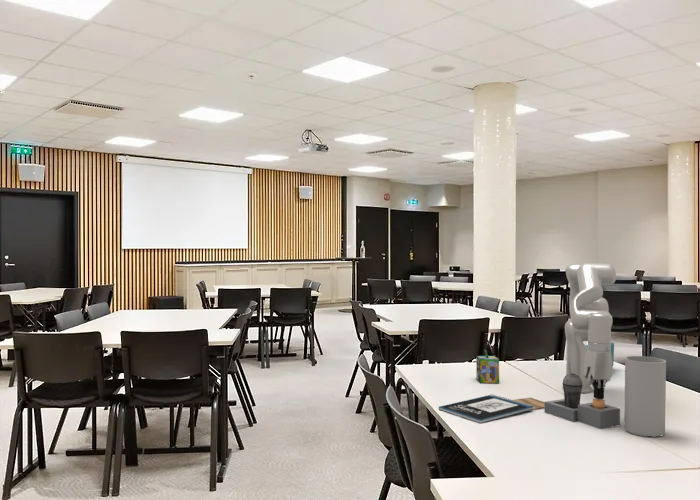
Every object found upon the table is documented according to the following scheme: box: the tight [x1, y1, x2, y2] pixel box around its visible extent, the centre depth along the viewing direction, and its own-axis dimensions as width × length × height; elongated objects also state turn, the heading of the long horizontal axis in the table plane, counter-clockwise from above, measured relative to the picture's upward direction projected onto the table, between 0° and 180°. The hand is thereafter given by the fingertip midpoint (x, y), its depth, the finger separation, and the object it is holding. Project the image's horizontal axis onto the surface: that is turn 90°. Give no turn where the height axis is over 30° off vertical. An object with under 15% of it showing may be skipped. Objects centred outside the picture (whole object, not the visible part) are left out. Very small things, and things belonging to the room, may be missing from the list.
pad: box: [511, 397, 546, 412], centre depth 236 cm, size 14×14×1 cm
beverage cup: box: [562, 362, 583, 409], centre depth 222 cm, size 7×7×20 cm
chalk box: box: [475, 349, 500, 384], centre depth 277 cm, size 9×9×15 cm
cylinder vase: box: [623, 355, 667, 437], centre depth 201 cm, size 12×12×25 cm
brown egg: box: [592, 397, 606, 409], centre depth 211 cm, size 4×4×4 cm
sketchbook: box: [438, 393, 533, 424], centre depth 226 cm, size 22×30×2 cm
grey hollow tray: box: [544, 398, 621, 430], centre depth 217 cm, size 13×24×6 cm, turn 27°
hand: (598, 398), depth 211 cm, fingers closed
